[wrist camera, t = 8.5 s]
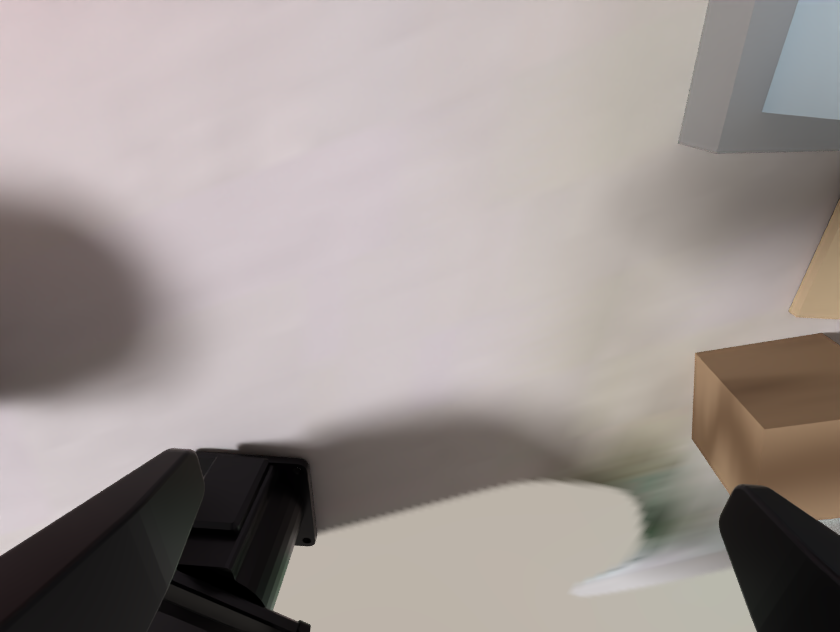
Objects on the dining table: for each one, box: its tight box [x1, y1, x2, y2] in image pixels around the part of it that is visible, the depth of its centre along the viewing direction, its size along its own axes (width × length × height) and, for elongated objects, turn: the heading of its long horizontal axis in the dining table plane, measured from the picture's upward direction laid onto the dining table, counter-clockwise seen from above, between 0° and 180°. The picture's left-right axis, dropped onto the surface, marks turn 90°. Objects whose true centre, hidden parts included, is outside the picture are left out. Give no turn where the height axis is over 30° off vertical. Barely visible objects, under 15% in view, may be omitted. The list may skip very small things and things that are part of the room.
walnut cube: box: [692, 333, 840, 520], centre depth 19 cm, size 5×5×5 cm
